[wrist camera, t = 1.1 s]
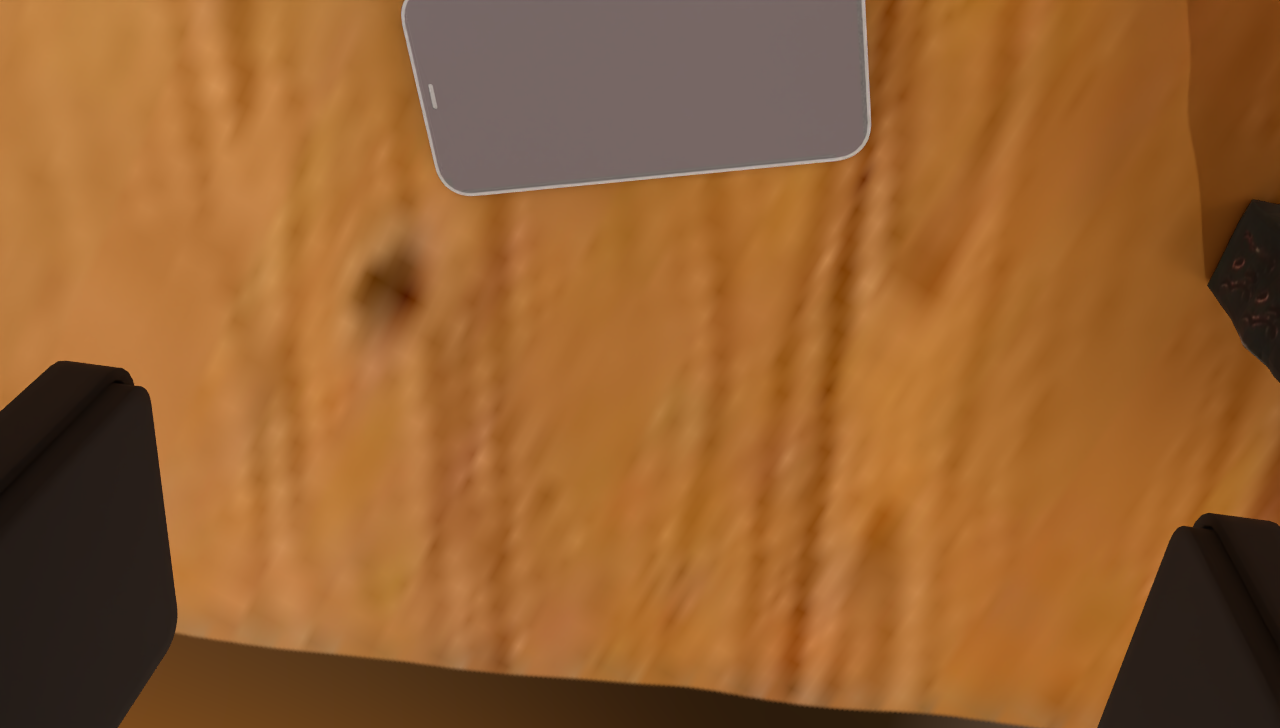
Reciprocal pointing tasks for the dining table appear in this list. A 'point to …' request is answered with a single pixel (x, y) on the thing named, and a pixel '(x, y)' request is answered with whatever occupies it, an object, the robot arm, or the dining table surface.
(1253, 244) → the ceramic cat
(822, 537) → the dining table surface
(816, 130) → the smartphone
